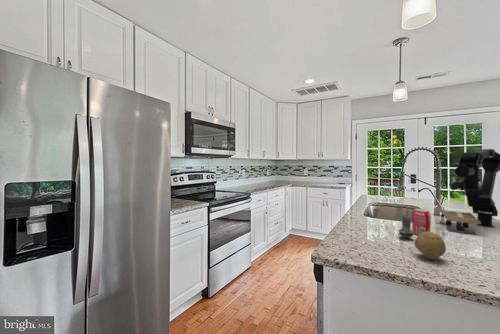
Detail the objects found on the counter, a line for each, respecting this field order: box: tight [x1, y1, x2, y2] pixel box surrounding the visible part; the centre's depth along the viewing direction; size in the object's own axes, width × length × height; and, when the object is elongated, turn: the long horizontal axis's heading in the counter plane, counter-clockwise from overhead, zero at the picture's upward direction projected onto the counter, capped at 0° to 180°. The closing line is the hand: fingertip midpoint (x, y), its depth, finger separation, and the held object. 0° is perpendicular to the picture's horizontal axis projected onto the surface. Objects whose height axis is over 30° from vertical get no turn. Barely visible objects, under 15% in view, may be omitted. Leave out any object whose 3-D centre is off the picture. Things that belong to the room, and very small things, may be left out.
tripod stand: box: [444, 219, 477, 236], centre depth 120 cm, size 16×10×5 cm, turn 146°
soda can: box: [411, 208, 432, 236], centre depth 110 cm, size 7×7×12 cm
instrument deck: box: [441, 210, 481, 225], centre depth 120 cm, size 22×12×2 cm, turn 146°
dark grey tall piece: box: [398, 212, 415, 242], centre depth 104 cm, size 6×6×12 cm
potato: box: [413, 231, 447, 261], centre depth 83 cm, size 9×9×10 cm
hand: (470, 206), depth 118 cm, fingers closed
